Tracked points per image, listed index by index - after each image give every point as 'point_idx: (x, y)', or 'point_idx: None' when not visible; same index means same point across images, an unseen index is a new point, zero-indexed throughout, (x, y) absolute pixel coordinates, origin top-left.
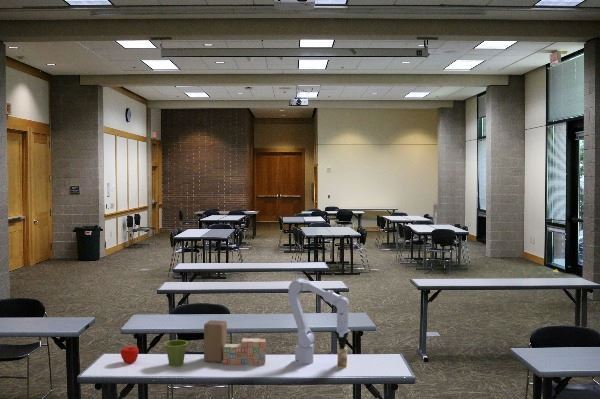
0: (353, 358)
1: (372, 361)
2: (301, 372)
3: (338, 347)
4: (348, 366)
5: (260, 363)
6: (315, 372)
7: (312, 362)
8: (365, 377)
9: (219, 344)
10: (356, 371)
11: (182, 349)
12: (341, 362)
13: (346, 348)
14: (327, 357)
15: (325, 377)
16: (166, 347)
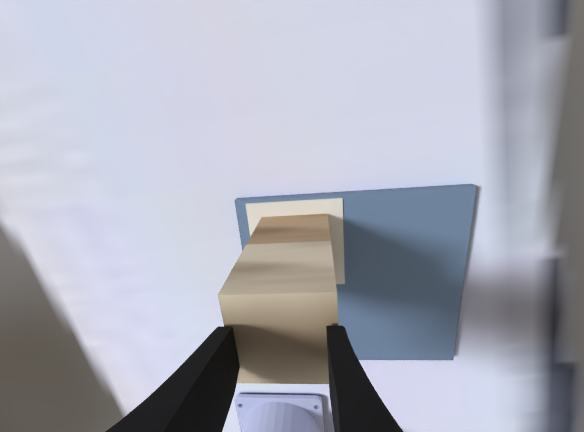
0: (80, 193)
1: (77, 24)
2: (448, 428)
3: (269, 381)
4: (308, 200)
5: None
6: (441, 370)
7: (291, 407)
8: (547, 13)
9: None
10: (383, 124)
11: None
12: None
13: (287, 297)
14: (138, 343)
15: (542, 312)
16: None
